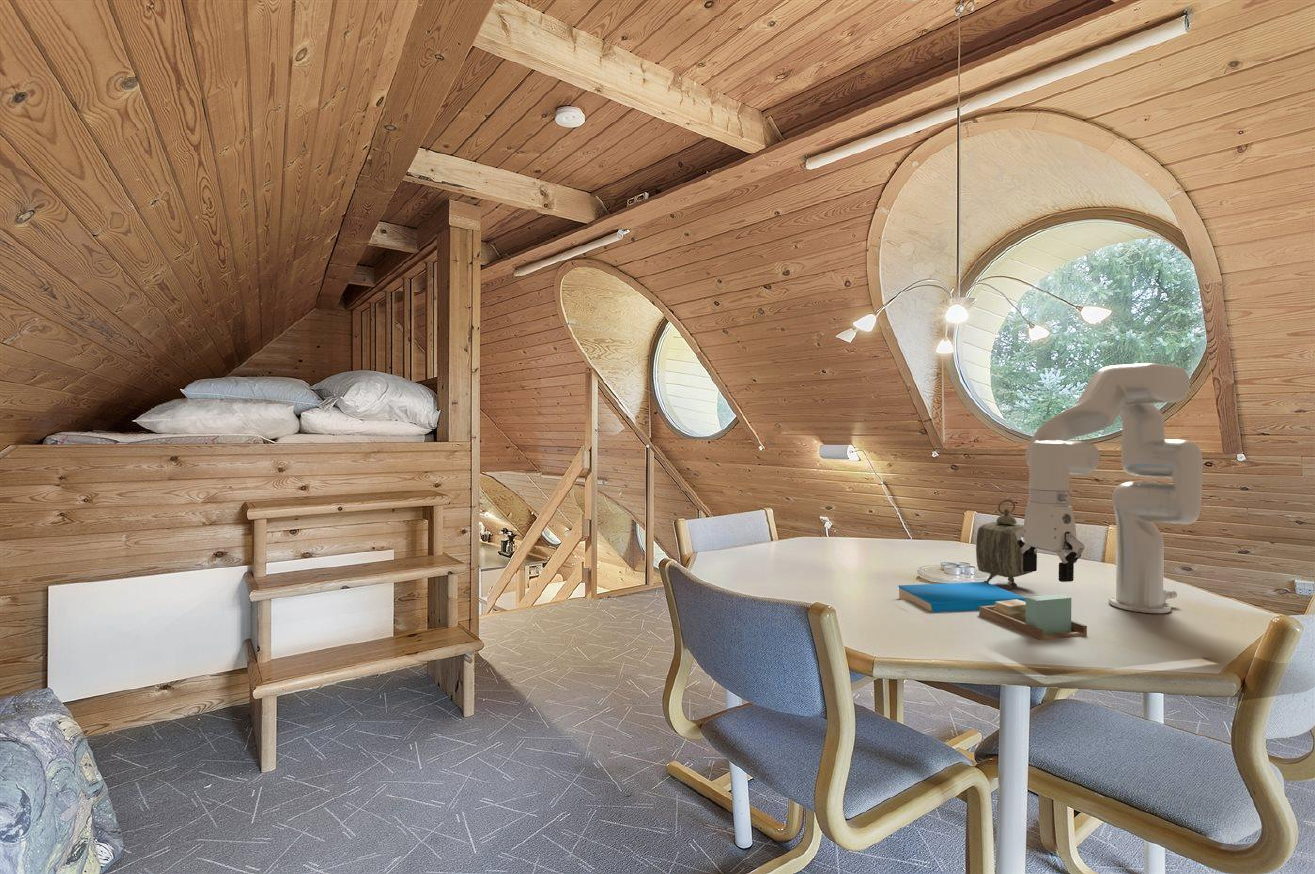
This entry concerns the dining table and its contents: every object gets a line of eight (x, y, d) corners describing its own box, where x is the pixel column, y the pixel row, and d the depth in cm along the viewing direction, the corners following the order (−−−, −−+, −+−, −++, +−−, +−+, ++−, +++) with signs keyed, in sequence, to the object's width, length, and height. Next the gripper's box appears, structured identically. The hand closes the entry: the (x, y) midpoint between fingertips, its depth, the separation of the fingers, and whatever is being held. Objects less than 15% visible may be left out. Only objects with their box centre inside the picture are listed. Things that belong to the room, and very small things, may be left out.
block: (1059, 627, 143) (1059, 594, 143) (1071, 631, 140) (1071, 597, 140) (1025, 630, 141) (1025, 596, 141) (1036, 635, 138) (1036, 600, 138)
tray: (1021, 615, 155) (1022, 602, 155) (1086, 640, 138) (1086, 625, 138) (979, 619, 153) (979, 606, 153) (1039, 645, 135) (1039, 630, 135)
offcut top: (1016, 606, 153) (1016, 599, 153) (1031, 611, 149) (1031, 603, 149) (995, 609, 151) (995, 601, 151) (1009, 614, 147) (1009, 606, 147)
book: (897, 585, 172) (984, 580, 175) (897, 601, 172) (984, 595, 175) (932, 602, 155) (1027, 596, 158) (932, 620, 155) (1027, 614, 158)
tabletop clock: (1009, 580, 190) (1010, 496, 189) (1039, 587, 182) (1039, 499, 181) (975, 586, 184) (976, 499, 183) (1004, 593, 175) (1005, 502, 175)
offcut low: (1018, 613, 153) (1019, 606, 153) (1033, 619, 149) (1033, 611, 149) (993, 616, 152) (993, 608, 152) (1008, 621, 147) (1008, 614, 147)
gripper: (1098, 502, 132) (1096, 584, 132) (1031, 493, 149) (1030, 567, 149) (1067, 502, 130) (1066, 586, 131) (1004, 494, 147) (1002, 568, 147)
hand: (1047, 576), depth 140 cm, fingers open, 9 cm apart
